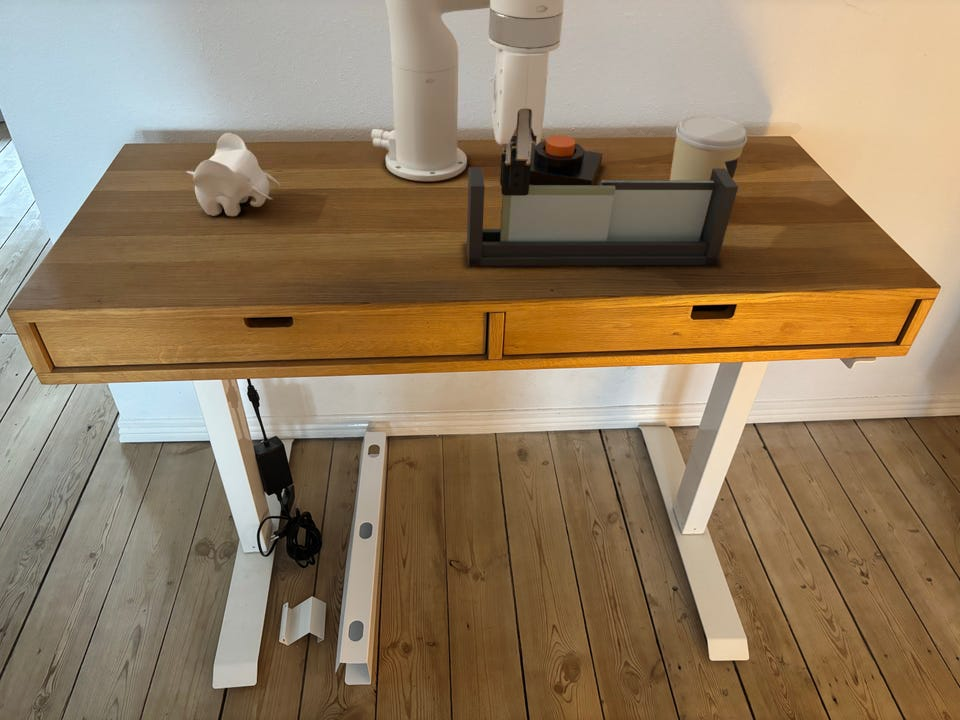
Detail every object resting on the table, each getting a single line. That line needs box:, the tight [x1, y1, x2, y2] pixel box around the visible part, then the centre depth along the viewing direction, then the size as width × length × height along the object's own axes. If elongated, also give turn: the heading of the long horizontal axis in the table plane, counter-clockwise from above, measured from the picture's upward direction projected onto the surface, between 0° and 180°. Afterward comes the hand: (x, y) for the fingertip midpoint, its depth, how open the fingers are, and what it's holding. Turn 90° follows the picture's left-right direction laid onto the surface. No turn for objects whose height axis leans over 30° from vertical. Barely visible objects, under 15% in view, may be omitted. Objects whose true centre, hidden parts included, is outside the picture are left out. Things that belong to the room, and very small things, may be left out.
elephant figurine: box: [186, 132, 282, 217], centre depth 99 cm, size 10×12×9 cm
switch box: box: [529, 139, 604, 185], centre depth 112 cm, size 12×10×4 cm
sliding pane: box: [499, 146, 616, 242], centre depth 89 cm, size 14×1×14 cm, turn 94°
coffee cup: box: [669, 114, 748, 181], centre depth 102 cm, size 9×9×12 cm
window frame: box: [466, 167, 739, 267], centre depth 92 cm, size 32×5×11 cm, turn 94°
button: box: [545, 134, 576, 157], centre depth 110 cm, size 4×4×2 cm
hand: (513, 189), depth 88 cm, fingers closed
